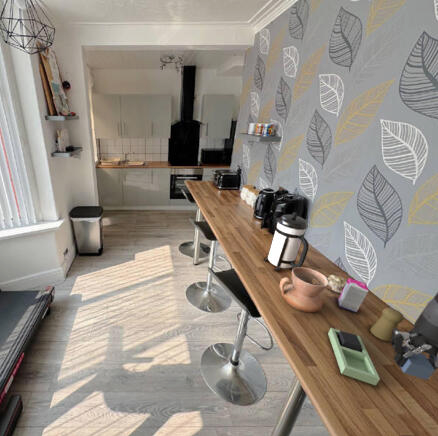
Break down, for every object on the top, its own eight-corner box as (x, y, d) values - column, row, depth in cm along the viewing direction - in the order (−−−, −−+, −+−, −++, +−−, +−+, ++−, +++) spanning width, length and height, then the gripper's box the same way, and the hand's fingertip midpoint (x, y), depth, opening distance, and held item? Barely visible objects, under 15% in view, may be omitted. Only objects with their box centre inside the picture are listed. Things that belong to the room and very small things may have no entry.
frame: (356, 342, 82) (359, 336, 81) (375, 385, 69) (380, 379, 67) (327, 333, 85) (330, 327, 84) (341, 373, 72) (345, 367, 70)
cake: (346, 285, 111) (352, 276, 109) (349, 298, 103) (355, 288, 101) (322, 276, 116) (327, 267, 113) (323, 287, 108) (328, 278, 105)
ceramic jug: (315, 295, 103) (327, 269, 97) (329, 321, 90) (343, 292, 84) (271, 287, 107) (279, 261, 101) (278, 310, 94) (288, 282, 89)
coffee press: (259, 265, 122) (274, 213, 110) (268, 253, 134) (282, 204, 121) (297, 280, 112) (317, 224, 100) (303, 266, 123) (322, 213, 111)
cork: (397, 340, 83) (412, 317, 79) (383, 342, 82) (397, 319, 78) (379, 326, 89) (392, 304, 84) (366, 328, 88) (378, 305, 83)
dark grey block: (352, 343, 81) (356, 335, 79) (357, 354, 77) (361, 346, 75) (336, 338, 82) (340, 330, 81) (340, 349, 79) (344, 341, 77)
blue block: (416, 364, 64) (424, 354, 62) (427, 380, 60) (435, 370, 58) (394, 357, 65) (401, 347, 64) (403, 372, 61) (411, 362, 60)
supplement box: (357, 313, 94) (369, 291, 90) (338, 307, 97) (349, 285, 93) (355, 304, 99) (366, 282, 94) (337, 298, 102) (347, 277, 97)
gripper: (415, 322, 55) (383, 369, 62) (503, 345, 50) (458, 393, 57) (398, 301, 61) (371, 346, 68) (475, 319, 56) (437, 365, 63)
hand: (411, 367), depth 62 cm, fingers closed on blue block, 4 cm apart
